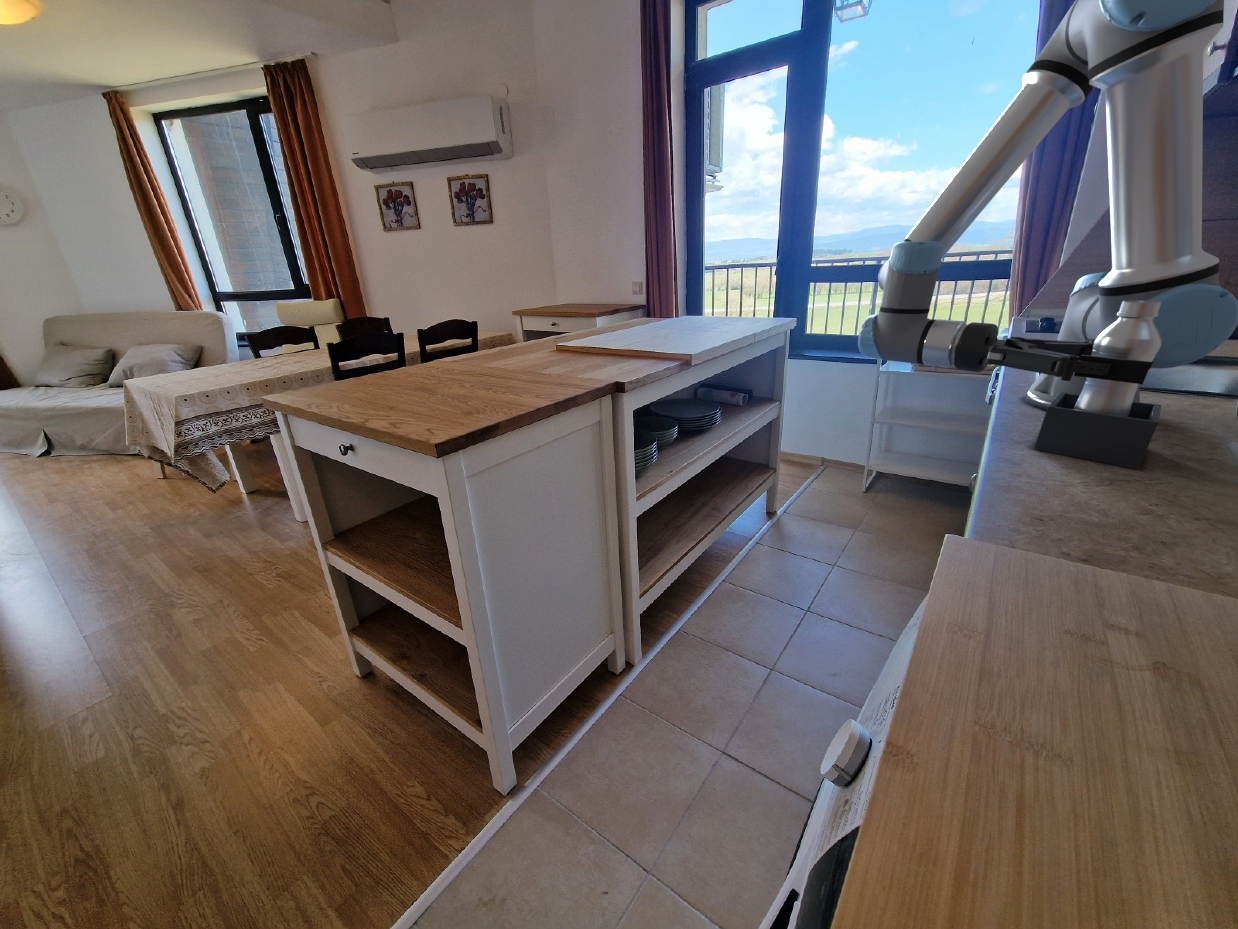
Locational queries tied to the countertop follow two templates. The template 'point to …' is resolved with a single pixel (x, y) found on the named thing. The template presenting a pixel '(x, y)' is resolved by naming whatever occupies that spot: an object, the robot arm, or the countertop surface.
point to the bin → (1098, 432)
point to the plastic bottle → (1122, 357)
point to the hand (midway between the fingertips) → (1151, 366)
